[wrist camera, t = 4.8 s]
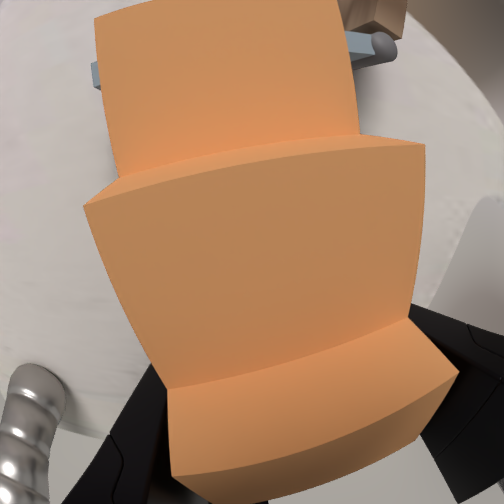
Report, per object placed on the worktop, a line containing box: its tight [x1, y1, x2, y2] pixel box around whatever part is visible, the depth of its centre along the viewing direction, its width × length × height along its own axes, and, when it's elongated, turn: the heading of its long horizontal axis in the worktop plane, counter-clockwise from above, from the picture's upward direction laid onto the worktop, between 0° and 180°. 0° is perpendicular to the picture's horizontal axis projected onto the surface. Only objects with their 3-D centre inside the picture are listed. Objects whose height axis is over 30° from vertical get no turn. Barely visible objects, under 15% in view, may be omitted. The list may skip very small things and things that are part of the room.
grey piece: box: [91, 31, 397, 90], centre depth 12 cm, size 15×2×6 cm, turn 99°
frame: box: [337, 0, 407, 41], centre depth 15 cm, size 26×2×6 cm, turn 164°
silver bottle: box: [0, 364, 66, 504], centre depth 12 cm, size 6×7×20 cm
